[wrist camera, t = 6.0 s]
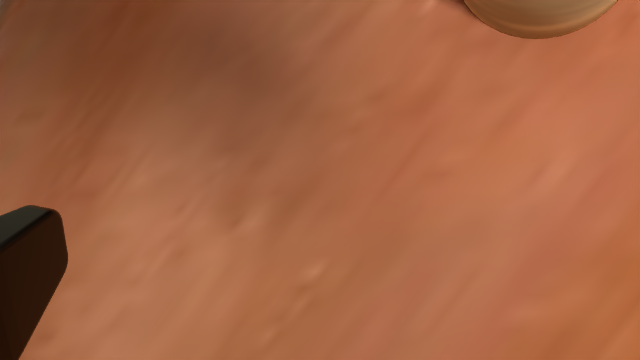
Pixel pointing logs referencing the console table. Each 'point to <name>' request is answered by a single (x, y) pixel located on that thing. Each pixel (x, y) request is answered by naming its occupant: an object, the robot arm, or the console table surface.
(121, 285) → the console table surface
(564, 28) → the birch post
